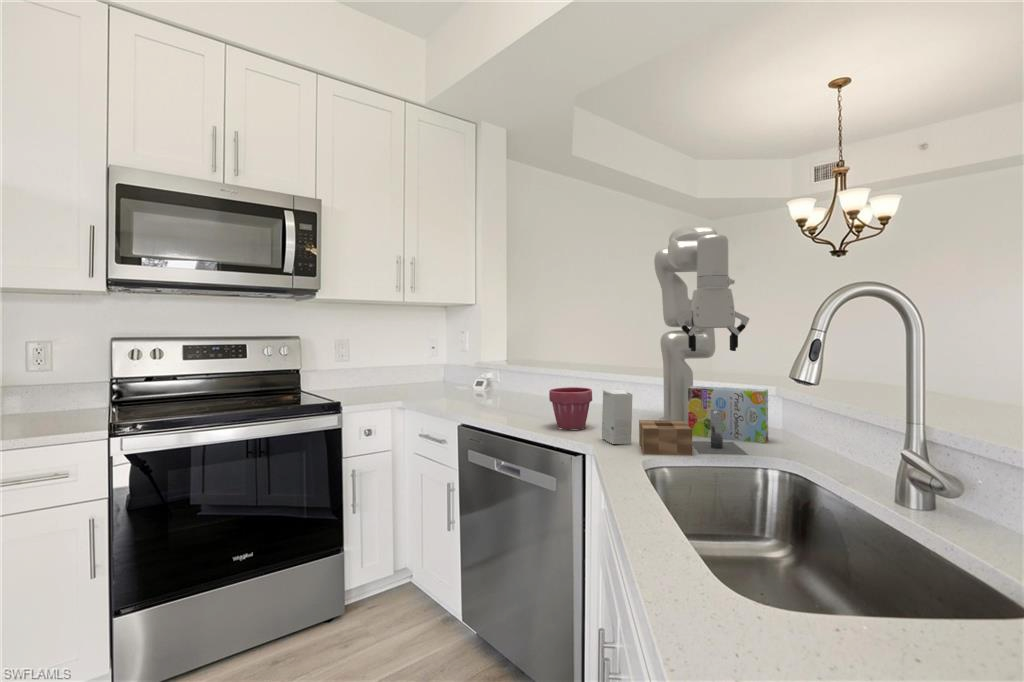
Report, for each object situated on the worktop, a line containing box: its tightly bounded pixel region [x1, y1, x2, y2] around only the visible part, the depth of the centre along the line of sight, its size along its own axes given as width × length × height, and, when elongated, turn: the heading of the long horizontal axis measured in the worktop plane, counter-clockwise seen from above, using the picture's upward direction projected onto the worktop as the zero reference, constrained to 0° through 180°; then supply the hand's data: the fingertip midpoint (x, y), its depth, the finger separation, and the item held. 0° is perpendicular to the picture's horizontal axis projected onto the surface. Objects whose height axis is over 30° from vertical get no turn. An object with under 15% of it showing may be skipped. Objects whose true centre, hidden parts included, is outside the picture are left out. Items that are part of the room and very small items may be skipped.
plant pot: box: [548, 386, 593, 430], centre depth 164 cm, size 14×14×13 cm
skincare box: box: [601, 389, 633, 445], centre depth 143 cm, size 8×6×15 cm
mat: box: [692, 440, 749, 456], centre depth 133 cm, size 14×12×1 cm
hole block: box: [638, 419, 693, 457], centre depth 132 cm, size 12×12×7 cm
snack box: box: [688, 385, 769, 444], centre depth 144 cm, size 21×6×15 cm, turn 56°
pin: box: [710, 410, 724, 449], centre depth 133 cm, size 3×3×10 cm
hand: (712, 350), depth 126 cm, fingers open, 9 cm apart
